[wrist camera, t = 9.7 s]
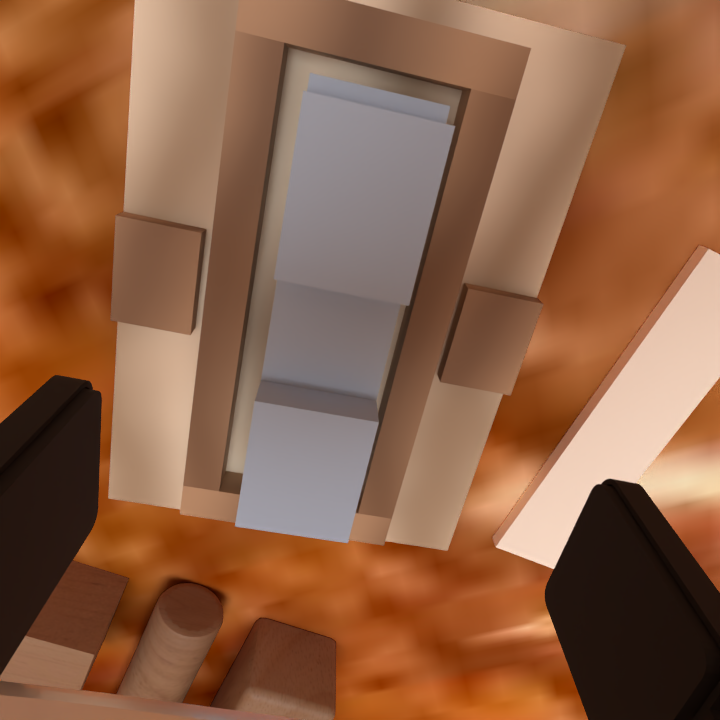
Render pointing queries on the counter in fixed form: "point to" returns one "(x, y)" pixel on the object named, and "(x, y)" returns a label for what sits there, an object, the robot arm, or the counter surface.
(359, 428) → the notched grey stepped bar
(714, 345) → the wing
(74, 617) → the wooden block set
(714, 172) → the counter surface
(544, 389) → the counter surface
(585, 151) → the jig
